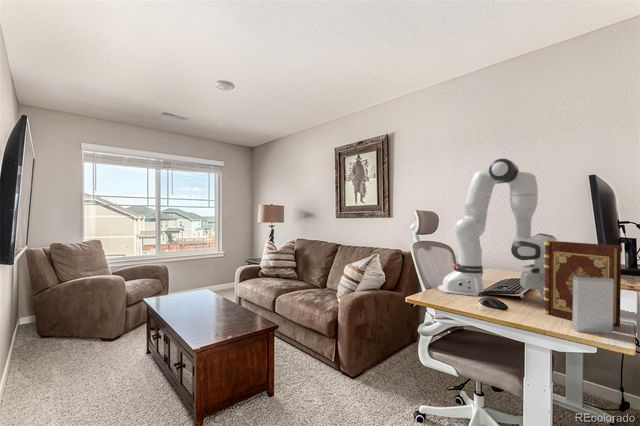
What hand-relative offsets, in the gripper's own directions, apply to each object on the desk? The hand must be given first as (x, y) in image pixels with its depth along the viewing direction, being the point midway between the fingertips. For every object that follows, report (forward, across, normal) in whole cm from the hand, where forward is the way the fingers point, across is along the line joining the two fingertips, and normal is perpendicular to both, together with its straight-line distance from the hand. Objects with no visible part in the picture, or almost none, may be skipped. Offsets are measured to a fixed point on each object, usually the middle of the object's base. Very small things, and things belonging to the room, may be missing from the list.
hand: (545, 298), depth 139 cm
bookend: (+2, +2, +33) cm, 33 cm away
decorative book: (+2, -1, +21) cm, 21 cm away
